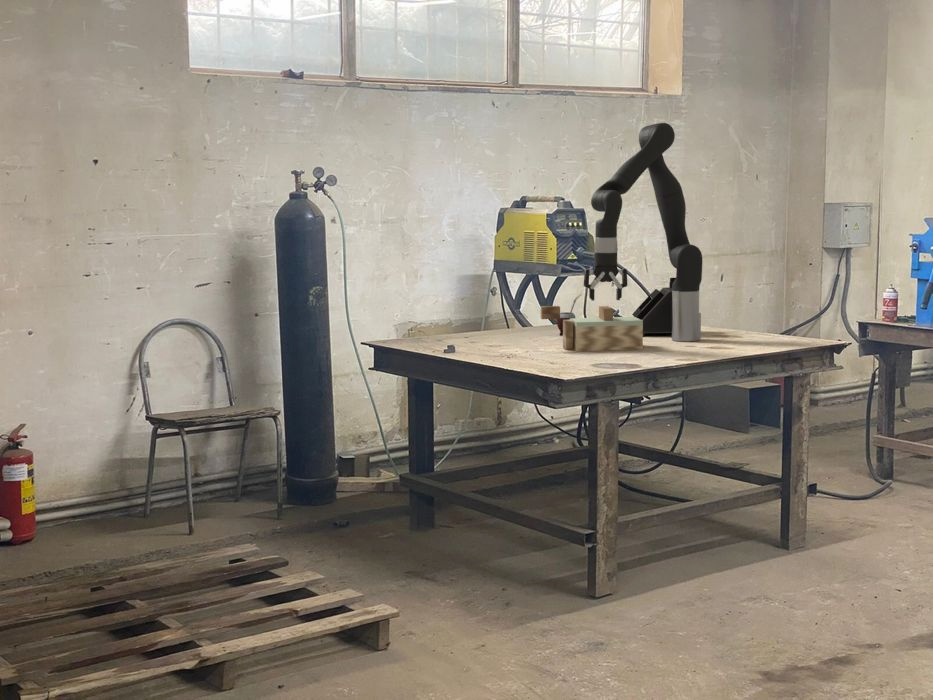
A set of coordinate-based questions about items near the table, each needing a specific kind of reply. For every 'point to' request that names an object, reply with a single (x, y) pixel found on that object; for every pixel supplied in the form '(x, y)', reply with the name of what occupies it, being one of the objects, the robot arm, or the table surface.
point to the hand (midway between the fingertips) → (605, 300)
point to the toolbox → (602, 337)
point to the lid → (606, 319)
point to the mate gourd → (565, 317)
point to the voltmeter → (657, 311)
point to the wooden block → (550, 312)
